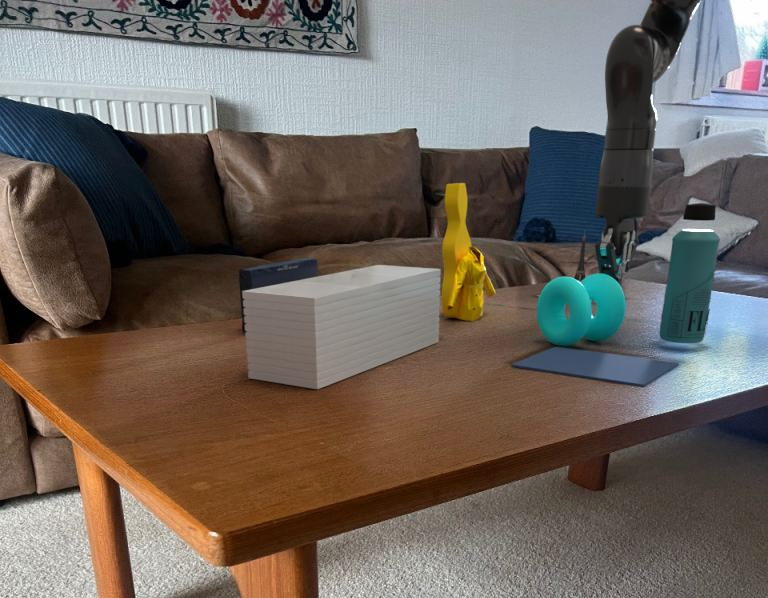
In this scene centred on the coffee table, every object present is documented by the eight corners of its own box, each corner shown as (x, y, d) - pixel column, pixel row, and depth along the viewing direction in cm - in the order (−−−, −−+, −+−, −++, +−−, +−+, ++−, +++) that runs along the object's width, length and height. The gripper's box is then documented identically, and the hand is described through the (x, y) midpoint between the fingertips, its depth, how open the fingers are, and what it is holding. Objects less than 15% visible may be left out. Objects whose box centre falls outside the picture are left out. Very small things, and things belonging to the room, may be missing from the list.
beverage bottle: (683, 355, 111) (707, 204, 103) (646, 347, 116) (666, 202, 108) (712, 350, 114) (738, 203, 106) (675, 342, 119) (696, 201, 111)
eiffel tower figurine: (626, 301, 155) (635, 230, 150) (602, 307, 149) (610, 233, 143) (559, 293, 165) (565, 226, 159) (534, 299, 158) (539, 229, 152)
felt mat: (678, 365, 106) (678, 363, 105) (643, 387, 95) (643, 384, 95) (554, 348, 115) (555, 346, 115) (511, 366, 105) (511, 364, 105)
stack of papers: (317, 389, 94) (314, 297, 89) (248, 378, 99) (242, 290, 94) (438, 342, 119) (440, 268, 114) (378, 335, 124) (378, 264, 119)
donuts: (625, 345, 117) (634, 276, 113) (576, 353, 112) (584, 281, 108) (577, 334, 125) (584, 269, 121) (530, 340, 120) (535, 273, 116)
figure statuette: (459, 328, 130) (465, 184, 121) (418, 323, 133) (421, 183, 124) (503, 312, 143) (511, 182, 134) (464, 308, 147) (470, 181, 138)
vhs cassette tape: (253, 335, 124) (249, 270, 120) (239, 333, 125) (234, 268, 121) (321, 317, 138) (320, 258, 134) (308, 316, 140) (306, 257, 136)
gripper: (634, 184, 109) (619, 310, 116) (663, 183, 119) (647, 299, 126) (583, 184, 113) (571, 305, 120) (615, 182, 123) (603, 295, 130)
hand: (610, 302), depth 123 cm, fingers closed
